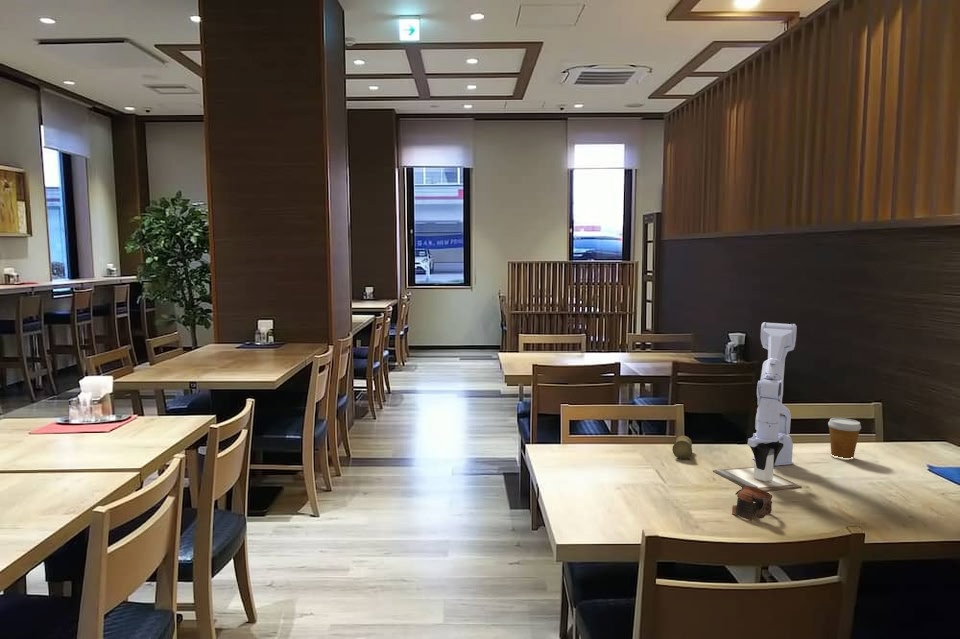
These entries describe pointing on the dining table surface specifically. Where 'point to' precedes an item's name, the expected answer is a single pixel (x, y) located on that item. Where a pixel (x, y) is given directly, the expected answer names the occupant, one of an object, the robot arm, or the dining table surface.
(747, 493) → the pottery mug
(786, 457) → the robot arm
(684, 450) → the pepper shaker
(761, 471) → the long rectangular beam
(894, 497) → the dining table surface
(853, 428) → the disposable coffee cup
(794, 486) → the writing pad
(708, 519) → the dining table surface
